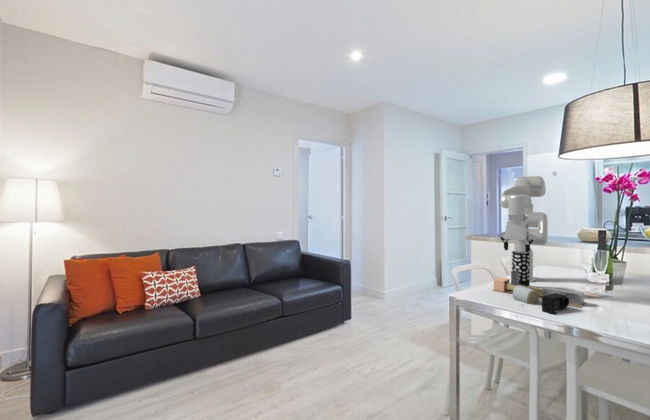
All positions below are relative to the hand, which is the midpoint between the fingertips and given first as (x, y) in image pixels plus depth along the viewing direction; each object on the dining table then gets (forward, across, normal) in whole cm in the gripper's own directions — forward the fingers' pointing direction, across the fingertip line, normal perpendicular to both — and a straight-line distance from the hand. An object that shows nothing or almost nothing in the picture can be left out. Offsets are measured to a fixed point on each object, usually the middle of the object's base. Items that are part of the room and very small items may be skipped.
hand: (516, 251), depth 160 cm
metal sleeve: (+22, -20, +1) cm, 29 cm away
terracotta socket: (+22, +7, +1) cm, 23 cm away
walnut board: (+22, -9, +1) cm, 24 cm away
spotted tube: (+23, +2, -14) cm, 27 cm away
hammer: (+21, -4, +1) cm, 21 cm away
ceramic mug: (+23, -8, +12) cm, 27 cm away
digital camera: (+23, -21, +17) cm, 35 cm away
